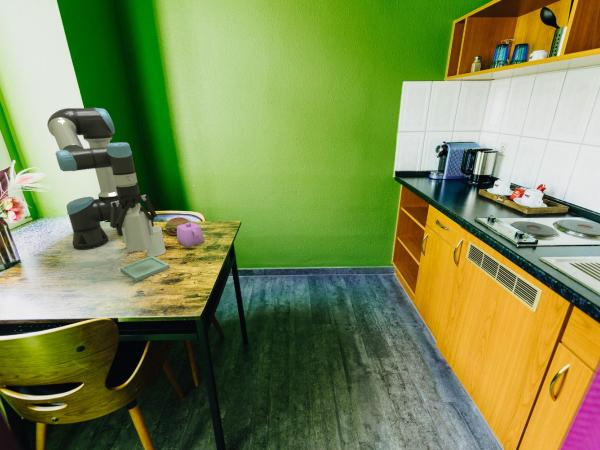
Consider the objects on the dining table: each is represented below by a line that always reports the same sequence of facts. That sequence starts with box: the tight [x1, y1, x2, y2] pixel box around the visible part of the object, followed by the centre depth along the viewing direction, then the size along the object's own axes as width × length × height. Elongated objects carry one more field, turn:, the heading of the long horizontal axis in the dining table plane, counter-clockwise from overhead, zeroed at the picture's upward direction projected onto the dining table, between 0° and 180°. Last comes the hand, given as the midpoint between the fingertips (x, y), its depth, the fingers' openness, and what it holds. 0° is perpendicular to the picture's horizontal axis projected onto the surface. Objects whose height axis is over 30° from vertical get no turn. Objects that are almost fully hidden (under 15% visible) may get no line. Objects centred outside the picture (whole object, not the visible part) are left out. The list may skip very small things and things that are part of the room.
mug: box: [145, 225, 167, 257], centre depth 141 cm, size 12×8×12 cm
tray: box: [119, 256, 171, 283], centre depth 128 cm, size 14×14×2 cm
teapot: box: [176, 221, 204, 248], centre depth 155 cm, size 18×10×10 cm, turn 44°
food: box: [164, 216, 192, 236], centre depth 168 cm, size 14×14×8 cm
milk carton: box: [121, 202, 152, 252], centre depth 122 cm, size 7×7×19 cm
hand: (138, 238), depth 123 cm, fingers closed on milk carton, 10 cm apart
